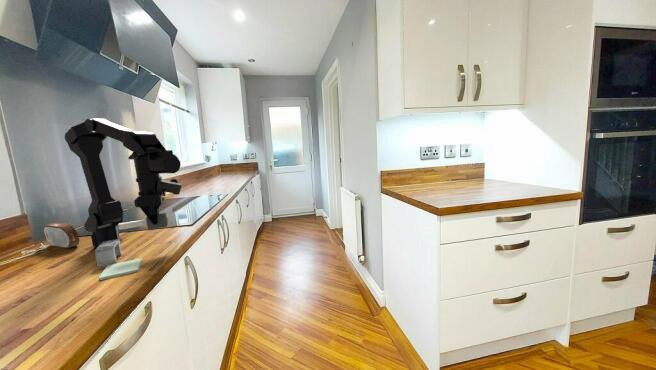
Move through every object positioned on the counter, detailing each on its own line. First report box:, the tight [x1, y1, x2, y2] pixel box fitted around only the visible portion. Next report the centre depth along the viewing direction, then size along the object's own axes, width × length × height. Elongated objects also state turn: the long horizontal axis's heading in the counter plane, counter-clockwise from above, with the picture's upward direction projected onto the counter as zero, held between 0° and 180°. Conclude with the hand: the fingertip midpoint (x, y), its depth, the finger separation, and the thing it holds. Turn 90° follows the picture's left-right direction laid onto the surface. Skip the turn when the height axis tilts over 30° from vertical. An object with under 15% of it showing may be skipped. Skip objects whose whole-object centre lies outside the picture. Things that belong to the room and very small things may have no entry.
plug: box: [118, 212, 171, 231], centre depth 79 cm, size 13×4×4 cm, turn 119°
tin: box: [42, 221, 80, 249], centre depth 88 cm, size 15×3×8 cm, turn 71°
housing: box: [94, 239, 123, 268], centre depth 75 cm, size 4×8×5 cm, turn 29°
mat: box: [98, 257, 143, 281], centre depth 69 cm, size 8×8×1 cm
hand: (156, 222), depth 80 cm, fingers closed on plug, 4 cm apart
